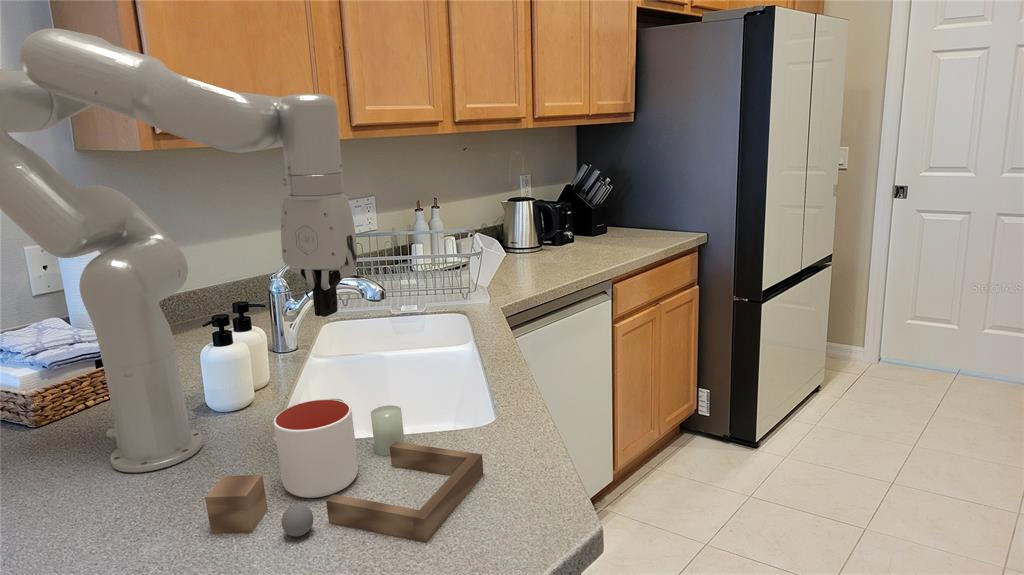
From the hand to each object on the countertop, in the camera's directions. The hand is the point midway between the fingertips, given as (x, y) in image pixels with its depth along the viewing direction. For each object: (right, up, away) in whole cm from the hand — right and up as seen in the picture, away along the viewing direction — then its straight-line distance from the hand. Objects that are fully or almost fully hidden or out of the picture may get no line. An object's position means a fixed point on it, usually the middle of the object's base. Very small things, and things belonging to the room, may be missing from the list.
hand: (326, 313), depth 100 cm
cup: (+1, -23, -6) cm, 24 cm away
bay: (+13, -23, -11) cm, 29 cm away
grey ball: (+2, -25, -18) cm, 31 cm away
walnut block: (-7, -25, -15) cm, 30 cm away
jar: (+9, -20, +2) cm, 22 cm away
